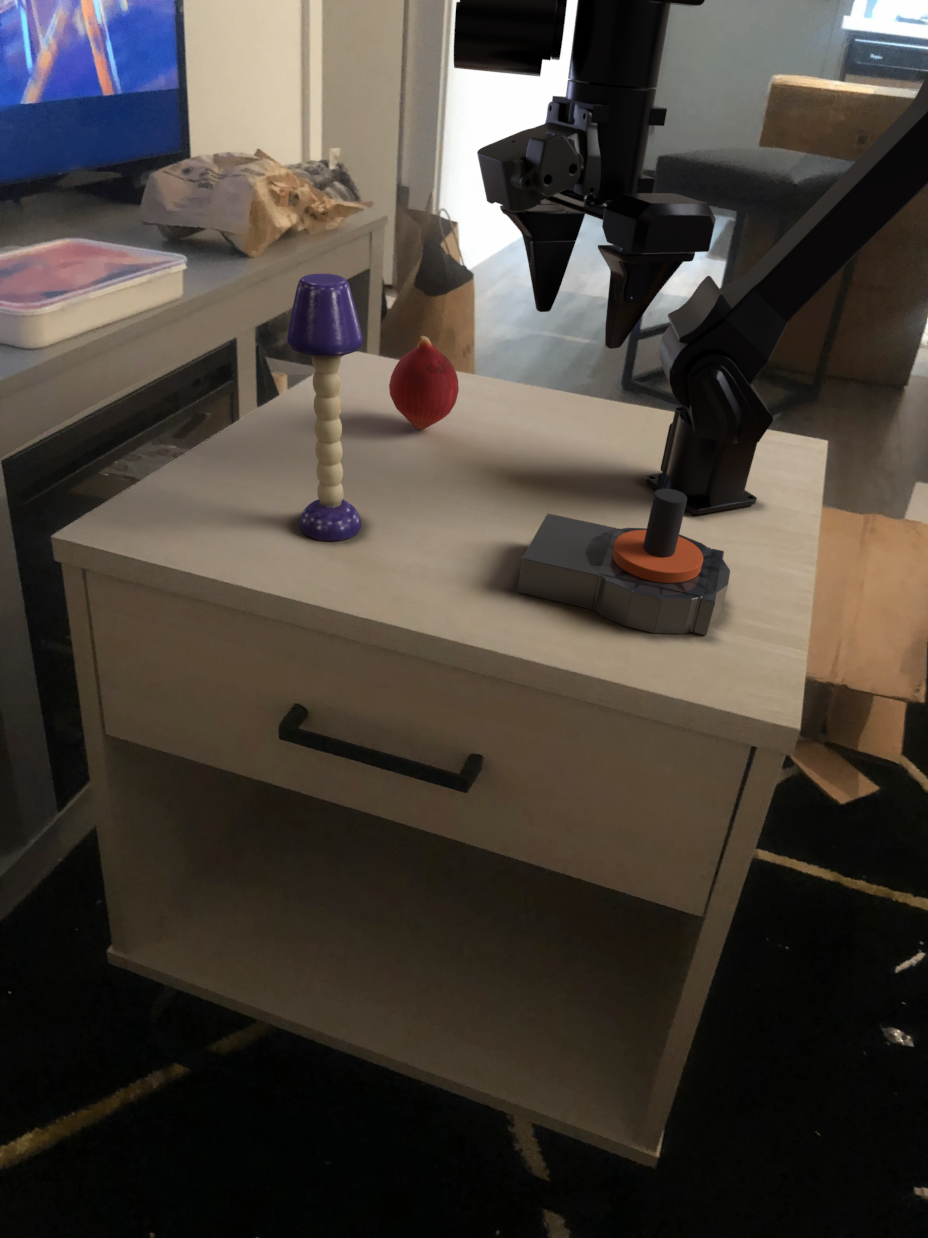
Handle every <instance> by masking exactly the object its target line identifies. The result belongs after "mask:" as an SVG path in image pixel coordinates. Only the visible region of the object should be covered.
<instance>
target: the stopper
mask: <svg viewBox="0 0 928 1238" xmlns="http://www.w3.org/2000/svg"><path fill="white" fill-rule="evenodd" d="M686 502H687V496H686V495H685V494H684V493H682V492H680V491H677V490H673V489H659V490H655V491H654V493H653V498H652V502H651V506H650V512H649V515H648V516H649V517H648V520H647V526H646V528H647V530H635V531H630V532H626V533H624V534H622V535H620V536H619V537H618V538H617V539H616V540H615V543H614V548H613V558H614V561H615V562H616V564H617V565H618V566H619V567H621V568H622V569H623V570H625V571H626V572H628V573H630V574H632V575H634V576H636V577H639V578H642V579H645V580H649V581H654V582H660V583H680V582H685V581H689V580H691V579H693V578H695V577H696V576H697V575H698V574H699V573H700V571H701V567H702V563H703V555H702V552H701V551H700V550H699V548H698V547H697V546H696V545H694V544H693V543H691V542H690V541H688V540H686V539H684V538H682V537H680V536H679V534H680V532H681V528H682V524H683V520H684V515H685V511H686V510H685V507H686Z"/></svg>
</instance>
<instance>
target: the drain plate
mask: <svg viewBox="0 0 928 1238" xmlns="http://www.w3.org/2000/svg"><path fill="white" fill-rule="evenodd" d="M635 530H647V527H622V528H617V527H613V526H609V525H605V524H599V523H595V522H590V521H585V520H580V519H576V518H571V517H567V516H561V515H557V514H552V513H547V514H545V516H544V518H543V520H542V522H541V523H540V525H539V527H538V528H537V531H536V533H535V535H534V537H533V538H532V539H531V541H530V543H529V545H528V547H527V548H526V550H525V552H524V554H523V556H522V558H521V563H520V571H519V577H518V584H517V593H518V594H524V595H528V596H532V597H536V598H541V599H545V600H550V601H554V602H558V603H563V604H566V605H571V606H575V607H579V608H584V609H588V610H592V611H595V612H596V613H598V614H599V615H600V616H602V617H604V618H606V619H609V620H610V621H612V622H615V623H617V624H619V625H621V626H623V627H627V628H630V629H635V630H640V631H644V632H648V633H651V634H672V635H673V634H675V635H678V634H680V635H682V634H688V633H691V634H692V633H694V634H697V635H702V636H707V635H708V634H709V629H710V627H711V626H710V625H711V624H713V623H714V622H715V621H717V620H718V618H720V616H721V612H722V610H723V605H724V601H725V598H726V594H727V591H728V587H729V582H730V576H731V569H730V567H729V566H728V564H727V563H726V562H725V560H724V556H725V551H724V550H722V549H716V548H711V547H708V546H706V545H705V544H703V542H700V541H697V540H694V539H692V538H690V537H687V536H685V535H682V534H680V533H679V536H680V537H682V538H684V539H686V540H688V541H690V542H691V543H693V544H694V545H696V546H697V547H698V548H699V550H700V551H701V552H702V555H703V563H702V567H701V571H700V573H699V574H698V575H697V576H696V577H695V578H693V579H691V580H689V581H685V582H680V583H660V582H654V581H649V580H645V579H642V578H639V577H636V576H634V575H632V574H630V573H628V572H626V571H625V570H623V569H622V568H621V567H619V566H618V565H617V564H616V562H615V561H614V558H613V548H614V543H615V540H616V539H617V538H618V537H619V536H620V535H622V534H624V533H626V532H630V531H635Z"/></svg>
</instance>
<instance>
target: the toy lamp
mask: <svg viewBox="0 0 928 1238" xmlns="http://www.w3.org/2000/svg"><path fill="white" fill-rule="evenodd" d="M293 299H294V300H293V304H292V308H291V314H290V319H289V324H288V328H287V335H286V341H287V345H288V346H289V348H290V349H292V350H293V351H294V352H297V353H299V354H302V355H306V356H311V363H312V367H313V369H314V372H313V376H312V388H313V391H314V393H315V395H314V398H313V411H314V414H315V416H316V418H315V421H314V423H313V424H314V425H313V427H314V428H313V430H314V435H315V437H316V439H317V440H316V443H315V446H314V452H315V456H316V459H317V461H318V462H317V464H316V467H315V468H316V469H315V470H316V471H315V473H316V478H317V480H318V485H317V487H316V488H317V490H316V492H317V494H316V495H317V498H318V499H315V500H313V501H312V502H310V503H309V504H308V505H307V506H306V507H305V508H304V509H303V511H302V513H301V516H300V519H299V530H300V531H301V532H302V533H303V534H304V535H306V536H307V537H309V538H312V539H315V540H320V541H326V542H337V541H342V540H343V541H344V540H348V539H351V538H353V537H355V536H357V535H358V534H359V532H360V531H361V529H362V519H361V516H360V514H359V511H358V509H356V508H355V506H354V505H353V504H351V503H350V502H349V501H347V500H345V499H343V498H344V487H343V485H342V480H343V476H344V470H343V469H344V468H343V465H342V463H341V461H342V457H343V445H342V442H341V440H340V439H341V437H342V433H343V426H342V421H341V419H340V415H341V412H342V400H341V397H340V395H339V393H340V391H341V389H342V388H341V387H342V380H341V379H342V378H341V376H340V375H341V374H340V373H339V369H340V366H341V361H342V360H341V359H342V358H341V356H347V355H350V354H352V353H355V352H357V351H358V350H360V349H361V348H362V346H363V343H364V338H363V332H362V329H361V324H360V320H359V317H358V312H357V309H356V305H355V301H354V297H353V294H352V290H351V287H350V284H349V282H348V280H347V279H346V278H345V277H343V276H342V275H338V274H334V273H310V274H306V275H304V276H302V277H301V278H300V279H299V280H298V283H297V286H296V289H295V294H294V298H293Z"/></svg>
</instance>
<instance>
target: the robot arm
mask: <svg viewBox="0 0 928 1238" xmlns="http://www.w3.org/2000/svg"><path fill="white" fill-rule="evenodd" d="M705 1H706V0H577V4H576V12H575V19H574V28H573V34H572V42H571V51H570V60H569V67H568V76H567V84H566V93H565V96H560V95H559V96H558V95H552V99H551V101H550V102H549V103H548V104H547V109H546V118H545V122H544V123H542V124H540V125H537V126H535V127H531V128H528V129H527V128H526V129H524V130H521V131H518V132H516V133H514V134H511V135H509V136H506V137H504V138H502V139H499V140H496V141H495V142H492V143H489V144H487V145H484V146H483V147H480V148H479V149H478V150H477V151H476V154H477V160H478V164H479V168H480V174H481V178H482V183H483V188H484V189H483V190H484V193H485V198H486V202H487V203H489V204H495V203H496V204H499V205H500V206H499V208H500V211H501V212H502V214H503V215H505V216H507V217H508V218H509V220H510V221H511V222H512V223H513V224H514V225H515V227H516V228H517V229H518V230H519V232H520V234H521V235H522V240H523V244H524V249H525V252H526V258H527V264H528V269H529V276H530V281H531V286H532V294H533V298H534V303H535V309H536V311H538V312H539V313H548V312H550V311H551V310H552V308H553V306H554V303H555V301H556V299H557V296H558V295H559V291H560V288H561V285H562V283H563V281H564V280H563V279H564V278H565V274H566V272H567V268H568V265H569V262H570V259H571V257H572V253H573V251H574V248H575V245H576V243H577V239H578V237H579V234H580V231H581V227H582V225H583V222H584V219H585V216H586V215H588V216H591V217H593V218H596V219H599V220H601V221H602V225H601V227H602V230H603V231H602V232H603V234H604V236H605V237H604V238H605V240H606V243H608V244H598V245H597V249H598V251H599V253H600V255H601V257H602V258H603V261H605V263H606V265H607V267H608V268H609V272H610V274H609V282H608V283H609V284H608V296H607V306H606V318H605V327H604V328H605V329H604V331H605V332H604V334H605V335H604V345H605V348H607V349H610V350H611V349H619V348H621V347H622V346H623V344H624V343H625V341H626V340H627V338H628V337H629V336H630V334H631V332H632V331H633V329H634V328H635V327H636V325H638V322H639V321H640V319H642V317H643V315H644V314H645V312H646V311H647V309H648V308H649V306H650V305H651V304H652V302H653V301H654V299H655V298H656V297H657V296H658V294H659V293H660V292H661V290H662V289H663V287H665V285H666V284H667V283H668V282H669V280H670V279H671V278H672V277H673V275H674V274H675V273H676V272H677V271H678V269H679V268H680V267H681V265H683V263H685V262H688V263H689V262H692V261H694V259H695V255H696V253H708V252H709V251H710V248H711V244H712V239H713V235H714V230H715V224H716V220H717V219H716V216H715V214H714V212H713V210H712V208H711V207H710V204H709V203H708V202H705V201H701V200H698V199H695V198H692V197H688V196H685V195H682V194H678V193H675V192H673V193H672V192H669V193H668V192H654V186H655V181H656V177H652V176H649V175H647V174H643V172H644V166H645V161H646V154H647V149H648V143H649V137H650V131H651V126H654V127H655V126H656V127H657V126H658V127H665V123H666V117H667V112H668V108H666V107H661V106H655V102H656V95H657V87H658V82H659V76H660V70H661V64H662V58H663V54H664V53H663V52H664V47H665V42H666V37H667V28H668V24H669V23H668V22H669V17H670V11H671V6H672V5H673V6H685V7H699V6H701V5H703V4H704V3H705ZM567 5H568V0H459V1H456V2H455V15H454V28H453V30H454V33H453V67H454V69H460V70H470V71H480V72H481V71H482V72H489V73H491V72H492V73H502V74H510V75H521V76H531V77H541V75H542V74H541V73H542V65H543V61H551V60H553V61H560V59H561V53H562V46H563V40H564V39H563V38H564V32H565V23H566V16H567V15H566V14H567ZM927 186H928V73H927V74H926V76H925V77H924V80H923V81H922V83H921V86H920V88H919V90H918V92H917V94H916V96H915V97H914V99H913V101H912V102H911V103H910V105H909V106H908V107H907V108H906V109H905V110H904V111H903V112H902V113H901V114H900V115H899V116H898V118H897V119H895V121H893V123H891V124H890V126H888V128H887V129H886V130H884V132H883V133H882V134H881V135H880V136H879V137H878V138H877V139H876V140H875V141H874V142H873V143H872V144H871V146H869V147H868V148H867V149H866V150H865V151H864V153H863V154H861V156H860V157H858V158H857V160H856V161H855V162H853V164H851V166H850V167H849V168H848V169H847V170H846V171H845V172H844V173H842V175H841V176H840V177H839V178H838V179H837V180H836V181H835V182H834V183H833V184H832V186H831V187H829V189H827V191H825V193H824V194H823V195H822V196H821V197H820V198H819V199H818V200H816V202H815V203H814V204H813V205H812V206H811V207H810V208H809V209H808V210H807V211H806V212H805V213H804V215H802V217H800V218H799V219H798V221H797V222H795V224H794V225H793V226H792V227H791V228H790V229H789V230H787V232H786V233H785V234H784V235H783V236H782V237H781V238H780V239H779V240H778V241H777V242H776V243H775V244H774V245H773V246H772V247H771V248H770V249H769V250H768V251H767V252H766V254H765V255H763V257H762V258H761V259H760V260H759V261H758V262H757V263H756V264H755V265H754V266H753V267H751V269H750V270H748V272H746V273H745V274H743V275H742V276H740V277H738V278H736V279H735V280H733V281H731V282H730V283H727V284H726V285H724V286H722V287H719V286H718V284H717V283H716V282H715V280H714V279H713V277H712V276H711V275H707V276H706V277H704V278H703V280H702V281H701V282H700V283H699V284H698V286H697V287H696V288H695V290H694V291H693V293H692V294H691V296H690V297H689V298H688V300H687V301H686V302H684V303H683V305H681V306H680V307H679V308H677V309H674V310H672V311H671V312H669V313H668V314H667V318H668V321H669V322H670V324H669V325H668V327H667V328H666V330H665V331H664V333H663V334H662V337H661V339H660V342H659V343H660V345H659V360H660V363H661V366H662V370H663V372H664V375H665V377H666V380H667V382H668V385H669V387H670V390H671V392H672V395H673V396H674V397H675V399H676V400H677V401H678V403H679V404H680V405H682V406H678V407H675V409H674V413H673V419H672V422H671V423H670V424H669V426H668V431H667V434H666V435H667V436H666V440H665V445H664V450H663V455H662V458H661V464H660V473H655V474H648V475H646V476H645V480H644V482H645V483H646V484H647V485H648V486H649V487H651V488H653V489H654V490H655V491H657V490H659V489H673V490H677V491H680V492H682V493H684V494H685V495H686V496H687V502H686V507H685V511H687V512H688V513H690V514H692V515H704V514H710V513H714V512H715V513H716V512H720V511H725V510H731V509H737V508H744V507H749V506H753V505H756V504H757V500H758V498H757V496H756V495H754V494H752V493H750V492H749V491H747V490H746V488H747V483H748V479H749V476H750V472H751V468H752V465H753V461H754V457H755V454H756V450H757V446H758V443H759V442H760V441H761V440H762V438H763V436H764V435H765V433H766V432H767V431H768V429H769V428H770V426H771V424H772V423H773V422H774V417H773V415H772V414H771V412H770V410H769V409H768V407H767V405H766V404H765V403H764V401H763V399H762V397H761V395H760V394H759V392H758V391H757V389H756V388H755V386H754V384H753V382H754V381H755V380H756V379H757V377H759V375H760V374H761V372H762V371H763V370H764V368H765V367H766V365H767V364H768V363H769V361H770V360H771V358H772V356H773V354H774V352H775V350H776V348H777V346H778V344H779V342H780V340H781V338H782V336H783V334H784V333H785V330H786V328H787V326H788V325H789V323H790V321H792V319H793V318H794V316H795V315H796V314H797V313H798V312H799V311H801V309H803V307H804V306H805V305H807V304H808V303H809V302H810V301H811V300H812V299H813V298H814V297H815V296H816V295H817V294H818V293H819V292H820V291H821V289H823V288H824V287H825V286H826V285H827V284H828V283H829V282H830V281H832V279H833V278H834V277H835V276H836V275H837V274H838V273H839V272H840V271H841V270H842V269H843V268H844V267H845V266H847V264H848V263H849V262H850V261H852V259H854V258H855V257H856V256H857V255H858V254H859V253H860V252H861V251H862V250H863V249H864V248H865V247H866V246H867V245H868V244H869V243H870V242H871V241H872V240H873V239H874V238H875V237H877V235H878V234H879V233H880V232H882V230H883V229H884V228H885V227H886V226H887V225H888V224H890V222H891V221H892V220H894V218H895V217H897V216H898V215H899V214H900V213H901V212H902V211H903V209H905V208H906V207H907V206H908V205H909V204H910V203H911V202H912V201H913V200H914V199H915V198H916V197H917V196H918V195H919V194H920V193H921V192H922V191H923V190H924V189H925V188H926V187H927ZM585 197H586V198H585Z"/></svg>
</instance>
